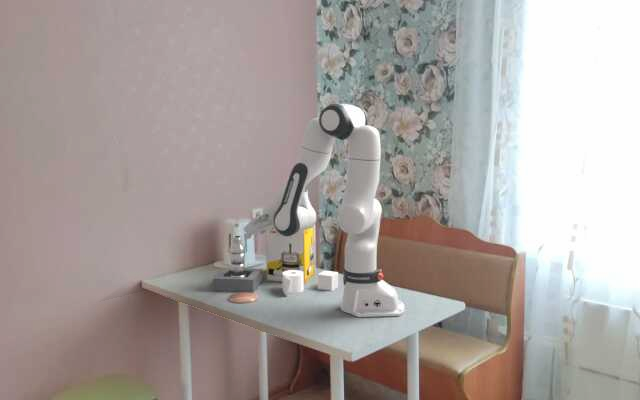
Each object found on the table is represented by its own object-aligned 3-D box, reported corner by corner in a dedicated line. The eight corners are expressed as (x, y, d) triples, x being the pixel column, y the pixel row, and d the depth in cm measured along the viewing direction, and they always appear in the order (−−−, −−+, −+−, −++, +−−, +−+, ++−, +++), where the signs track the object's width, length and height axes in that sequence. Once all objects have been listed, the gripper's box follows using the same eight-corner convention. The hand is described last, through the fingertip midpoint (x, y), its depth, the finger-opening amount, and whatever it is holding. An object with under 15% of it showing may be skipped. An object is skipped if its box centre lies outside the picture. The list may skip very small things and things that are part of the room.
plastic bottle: (231, 288, 224) (229, 239, 221) (229, 283, 230) (227, 235, 227) (247, 287, 225) (246, 238, 222) (245, 282, 232) (243, 234, 229)
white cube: (317, 289, 223) (317, 274, 222) (324, 284, 228) (324, 270, 227) (331, 291, 220) (331, 276, 219) (338, 286, 225) (338, 272, 224)
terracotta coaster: (261, 294, 217) (261, 292, 217) (254, 303, 206) (254, 302, 206) (233, 293, 218) (233, 291, 218) (224, 302, 208) (224, 301, 208)
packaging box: (315, 272, 246) (315, 215, 242) (304, 283, 230) (303, 222, 226) (280, 269, 250) (279, 213, 246) (266, 280, 234) (265, 220, 231)
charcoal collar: (262, 280, 234) (262, 268, 233) (253, 292, 219) (253, 279, 219) (224, 279, 236) (224, 267, 235) (213, 290, 221) (212, 278, 221)
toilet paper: (286, 296, 214) (286, 279, 213) (280, 288, 225) (280, 271, 223) (307, 294, 216) (307, 277, 215) (300, 286, 227) (300, 269, 226)
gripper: (263, 224, 204) (242, 247, 211) (293, 214, 222) (273, 236, 228) (253, 211, 206) (232, 234, 212) (284, 202, 223) (264, 224, 230)
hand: (254, 235), depth 220 cm, fingers open, 8 cm apart
